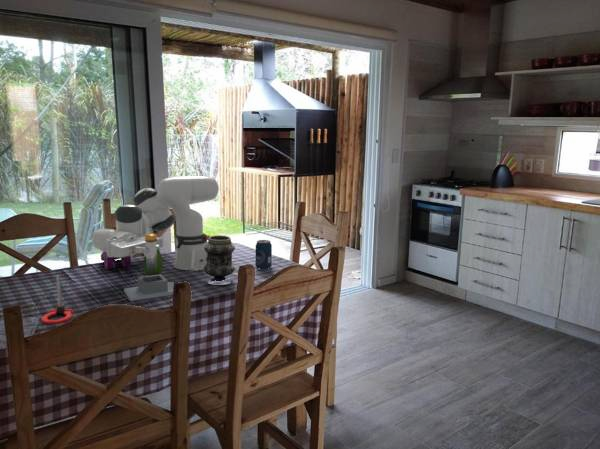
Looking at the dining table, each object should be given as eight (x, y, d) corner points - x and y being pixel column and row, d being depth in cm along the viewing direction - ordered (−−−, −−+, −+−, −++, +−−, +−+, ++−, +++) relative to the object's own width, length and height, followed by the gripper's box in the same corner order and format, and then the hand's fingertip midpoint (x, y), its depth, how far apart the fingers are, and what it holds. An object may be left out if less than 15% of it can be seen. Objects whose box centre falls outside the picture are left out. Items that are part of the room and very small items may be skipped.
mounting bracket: (101, 275, 215) (108, 267, 200) (99, 257, 216) (105, 247, 201) (123, 272, 220) (131, 264, 205) (121, 254, 221) (128, 245, 206)
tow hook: (66, 325, 148) (76, 312, 156) (62, 285, 144) (72, 274, 153) (37, 326, 146) (48, 313, 155) (32, 285, 143) (44, 275, 152)
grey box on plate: (173, 284, 186) (172, 271, 185) (181, 293, 176) (181, 279, 175) (124, 291, 177) (123, 278, 176) (130, 301, 168) (129, 286, 167)
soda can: (252, 268, 210) (252, 241, 208) (262, 265, 216) (262, 238, 213) (264, 271, 206) (265, 244, 204) (274, 267, 212) (275, 241, 210)
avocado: (166, 276, 196) (165, 247, 193) (148, 280, 191) (147, 250, 188) (157, 272, 202) (157, 244, 199) (139, 275, 196) (138, 246, 194)
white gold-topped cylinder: (156, 265, 178) (155, 233, 175) (158, 268, 174) (157, 235, 172) (144, 266, 176) (143, 234, 173) (147, 269, 172) (146, 236, 170)
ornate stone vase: (239, 284, 188) (240, 239, 185) (210, 288, 182) (209, 242, 179) (227, 276, 199) (227, 233, 195) (199, 280, 192) (198, 235, 189)
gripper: (147, 246, 189) (174, 251, 183) (103, 258, 172) (130, 264, 165) (147, 230, 188) (173, 235, 181) (102, 240, 171) (130, 246, 164)
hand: (152, 249), depth 173 cm, fingers closed on white gold-topped cylinder, 4 cm apart
